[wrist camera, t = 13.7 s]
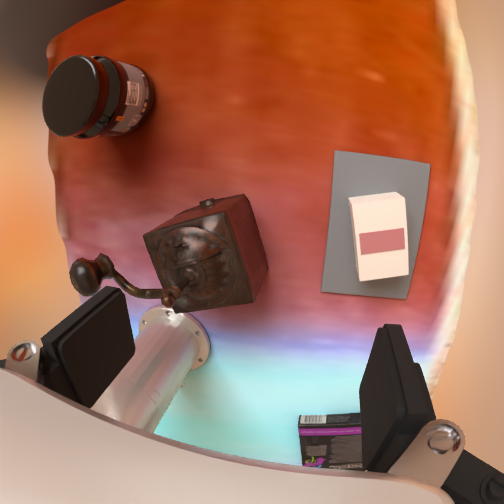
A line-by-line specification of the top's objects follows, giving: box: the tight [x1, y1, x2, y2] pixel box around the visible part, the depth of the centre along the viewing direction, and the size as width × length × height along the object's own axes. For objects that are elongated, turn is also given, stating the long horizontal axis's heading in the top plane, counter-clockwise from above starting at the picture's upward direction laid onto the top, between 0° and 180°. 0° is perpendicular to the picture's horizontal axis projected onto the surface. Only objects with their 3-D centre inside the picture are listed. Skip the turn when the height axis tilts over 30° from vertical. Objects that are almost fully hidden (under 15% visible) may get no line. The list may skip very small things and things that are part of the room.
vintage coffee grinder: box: [69, 194, 268, 314], centre depth 33 cm, size 16×11×18 cm
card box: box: [348, 192, 409, 281], centre depth 33 cm, size 6×9×4 cm, turn 12°
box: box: [298, 413, 365, 471], centre depth 49 cm, size 14×4×20 cm
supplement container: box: [42, 55, 154, 139], centre depth 31 cm, size 10×11×12 cm
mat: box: [321, 151, 430, 299], centre depth 35 cm, size 18×12×1 cm, turn 179°
